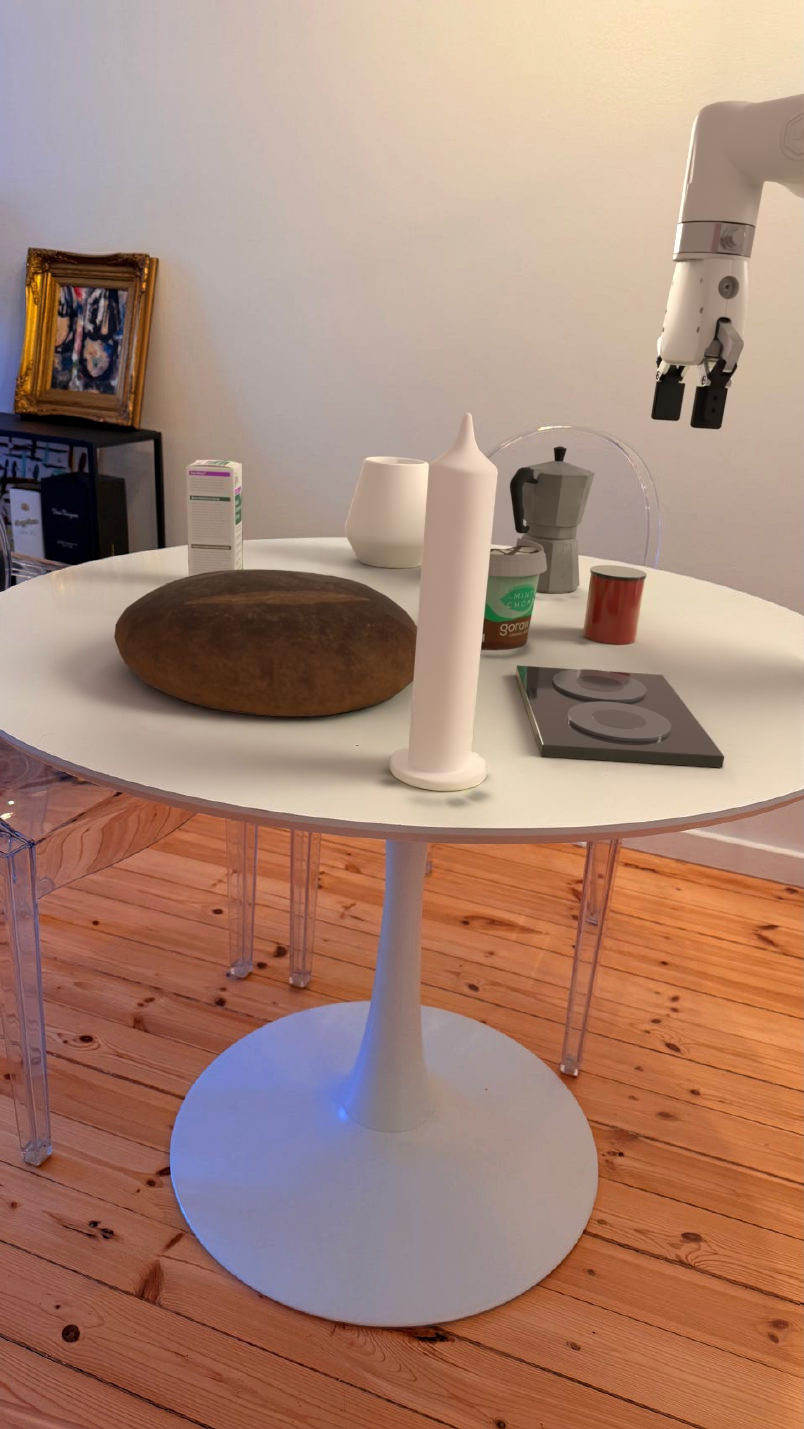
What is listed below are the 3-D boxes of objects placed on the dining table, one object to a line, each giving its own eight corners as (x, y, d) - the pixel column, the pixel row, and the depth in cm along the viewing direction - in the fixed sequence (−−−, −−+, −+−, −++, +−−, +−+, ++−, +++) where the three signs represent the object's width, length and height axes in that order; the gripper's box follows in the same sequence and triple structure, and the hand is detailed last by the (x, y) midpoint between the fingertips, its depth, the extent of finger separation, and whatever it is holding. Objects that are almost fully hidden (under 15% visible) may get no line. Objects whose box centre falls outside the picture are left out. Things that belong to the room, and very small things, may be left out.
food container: (499, 661, 98) (509, 561, 95) (448, 647, 102) (456, 550, 98) (559, 638, 108) (570, 547, 104) (510, 626, 111) (520, 537, 108)
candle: (380, 784, 69) (403, 411, 60) (399, 747, 76) (422, 406, 67) (481, 797, 68) (519, 420, 59) (491, 759, 75) (526, 414, 66)
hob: (661, 684, 95) (663, 671, 94) (722, 768, 76) (725, 752, 75) (515, 675, 94) (516, 662, 94) (540, 756, 76) (542, 740, 75)
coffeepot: (547, 573, 139) (562, 441, 133) (602, 587, 133) (621, 449, 127) (473, 585, 129) (486, 443, 123) (529, 601, 123) (546, 452, 117)
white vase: (338, 567, 134) (343, 462, 129) (347, 548, 147) (351, 452, 142) (437, 574, 134) (445, 469, 129) (437, 555, 146) (445, 458, 142)
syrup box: (236, 590, 119) (236, 466, 113) (186, 587, 118) (185, 463, 113) (243, 579, 124) (244, 461, 119) (196, 576, 124) (195, 457, 119)
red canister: (630, 631, 112) (640, 567, 110) (642, 646, 107) (652, 579, 104) (578, 627, 112) (586, 563, 110) (586, 642, 107) (595, 575, 104)
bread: (103, 632, 99) (99, 545, 96) (361, 622, 108) (365, 543, 105) (137, 737, 74) (133, 624, 71) (468, 712, 84) (477, 612, 81)
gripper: (793, 244, 92) (757, 434, 98) (708, 256, 108) (681, 419, 114) (719, 236, 91) (687, 430, 97) (643, 250, 106) (620, 415, 112)
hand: (684, 424), depth 105 cm, fingers open, 9 cm apart
